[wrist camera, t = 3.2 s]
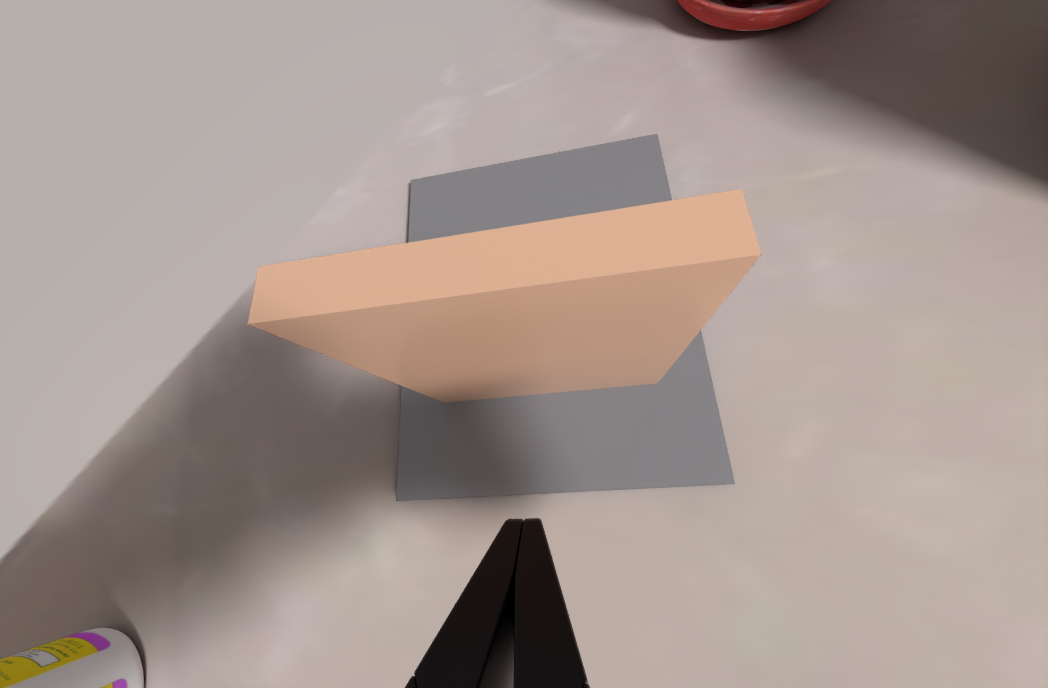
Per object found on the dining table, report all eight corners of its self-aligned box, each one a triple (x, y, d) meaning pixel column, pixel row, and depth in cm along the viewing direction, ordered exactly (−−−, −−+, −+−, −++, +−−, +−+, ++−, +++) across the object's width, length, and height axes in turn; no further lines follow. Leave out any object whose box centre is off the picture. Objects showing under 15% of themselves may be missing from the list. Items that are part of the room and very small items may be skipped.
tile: (657, 383, 18) (761, 254, 7) (444, 402, 20) (247, 324, 9) (651, 350, 19) (739, 181, 7) (444, 371, 20) (259, 259, 9)
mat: (730, 483, 17) (735, 484, 16) (402, 499, 19) (396, 500, 19) (655, 141, 23) (657, 133, 23) (415, 186, 26) (411, 180, 25)
